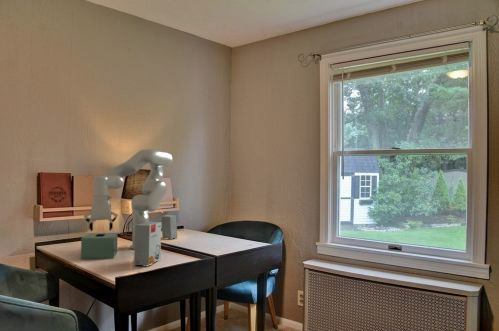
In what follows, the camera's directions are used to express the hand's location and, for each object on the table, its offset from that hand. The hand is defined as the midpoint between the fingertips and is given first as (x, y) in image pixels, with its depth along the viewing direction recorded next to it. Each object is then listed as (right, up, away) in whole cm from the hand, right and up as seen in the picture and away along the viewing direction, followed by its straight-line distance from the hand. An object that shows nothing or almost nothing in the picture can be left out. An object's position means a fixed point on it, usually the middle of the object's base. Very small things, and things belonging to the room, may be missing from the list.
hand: (101, 230), depth 214 cm
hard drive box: (+29, -14, -16) cm, 36 cm away
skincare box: (+26, -15, +55) cm, 63 cm away
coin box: (0, -14, -1) cm, 14 cm away
